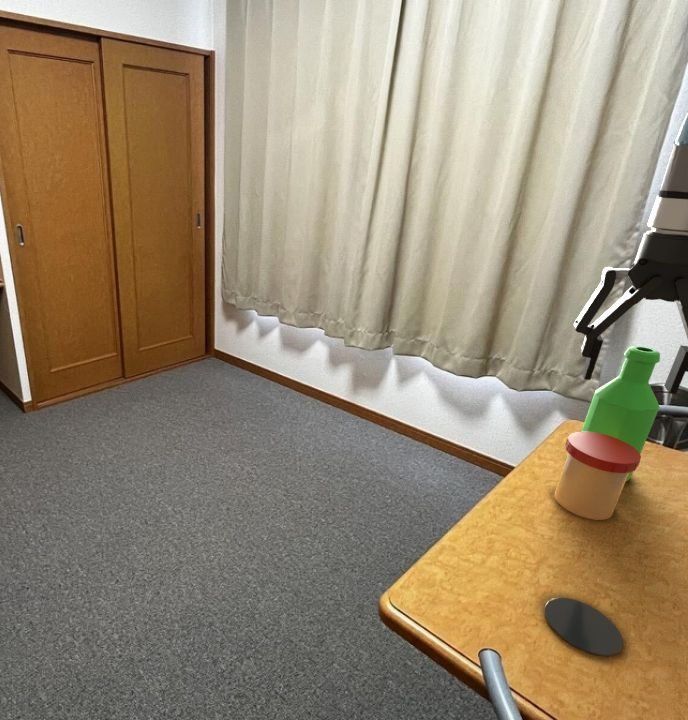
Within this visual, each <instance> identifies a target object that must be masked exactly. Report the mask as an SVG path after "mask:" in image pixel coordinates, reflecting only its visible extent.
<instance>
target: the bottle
mask: <svg viewBox="0 0 688 720" xmlns="http://www.w3.org/2000/svg"><path fill="white" fill-rule="evenodd" d="M623 356H624V357H625V359H624V361H623V364H622V366H621V370H620V373H619V375H618V376H617V377H615V378H613V379H612V380H610V381H609V382H607V383H605V384H603V385H602V386H600V387H598V388H597V389H596V390H595V392H594V393H593V397H592V399H591V401H590V405H589V408H588V411H587V413H586V417H585V419H584V422H583V425H582V427H581V431H580V432H582V431H586V432H595V433H601V434H605V435H608V436H612V437H614V438H617V439H619V440H622V441H624V442H626V443H628V444H629V445H631V446H633V447H634V448H635V449H636V450H637V451H638V452H639V453H640V455H641V453H642V451H643V449H644V446H645V444H646V441H647V439H648V437H649V434H650V432H651V429H652V427H653V424H654V422H655V419H656V417H657V415H658V412H659V409H660V404H659V402H658V400H657V398H656V396H655V393H654V391H653V389H652V387H651V385H650V383H649V382H650V379H651V377H652V374H653V372H654V369H655V367H656V364H658V363H660V362H661V353H660V352H659V351H658V350H655V349H653V348H651V347H647V346H640V345H635V346H628V348H627V349H626V351H624V353H623ZM633 473H634V471H633V472H629V474H628V477H627V479H626V482H627V481H629V480H630V479H631V478H632V475H633Z"/></svg>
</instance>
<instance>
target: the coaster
mask: <svg viewBox="0 0 688 720" xmlns="http://www.w3.org/2000/svg"><path fill="white" fill-rule="evenodd" d="M543 613H544V617H545V621H546V622H547V624H548V626H549V628H551V629H552V631H553V632H554V633H555V634H556V635H557V636H558V637H559V638H561V640H563V641H564V642H566V643H567V644H569V645H570V646H571V647H573V648H575V649H578V650H579V651H581V652H583V653H586V654H589V655H592V656H597V657H613V656H616V655H618V654H619V653H620V652H621V651H622V649H623V646H624V641H623V636H622V634H621V632H620V630H619V629H618V627H617V626H616V624H614V623H613V621H612V620H611V619H610V618H609V617H608V616H606V615H605V614H604V613H603V612H601V611H600V610H598V609H597V608H595V607H593V606H592V605H590V604H588V603H586V602H583V601H580V600H578V599H574V598H569V597H555V598H551V599H550V600H548V601H547V602H546V604H545V606H544V609H543Z"/></svg>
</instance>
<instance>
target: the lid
mask: <svg viewBox="0 0 688 720" xmlns="http://www.w3.org/2000/svg"><path fill="white" fill-rule="evenodd" d="M581 431H582V430H581ZM581 431H575V432H572V433H571V434H569V435H568V438H567V439H566V441H565V451H566V452H567V454H568V453H569V454H570V455H571V456H572V457H573V458H575V459H576V460H578V461H580V462H581V463H583V464H586V465H588V466H590V467H593V468H596V469H599V470H603V471H607V472H613V473H629V472H633V473H634V472H635V471H636V470H637V468H638V467H639V466H640V462H641V458H642V456H641V454H640V453H639V452H638V451H637V450H636V449H635V448H634V447H633V446H631V445H629V444H628V443H626V442H624V441H622V440H619V439H617V438H614V437H612V436H608V435H605V434H601V433H595V432H586V431H582V432H581Z"/></svg>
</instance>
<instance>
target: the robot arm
mask: <svg viewBox="0 0 688 720" xmlns="http://www.w3.org/2000/svg"><path fill="white" fill-rule="evenodd" d="M672 146H673V147H672V150H671V153H670V156H669V159H668V162H667V166H666V169H665V172H664V175H663V179H662V182H661V186H660V188H659V191H658V194H657V196H656V199H655V202H654V205H653V207H652V211H651V213H650V216H649V219H648V222H647V226H648V227H649V228H651V229H650V230H647V231H646V232H644V233H643V236H642V239H641V242H640V244H639V247H638V251H637V254H636V257H635V260H634V261H633V262H632V263H631V265H630V266H628V268H626V267H625V268H613V266H606V267H604V268H603V269H602V271H601V278H600V283H599V284H598V285H597V287H596V288H595V290H594V291H593V293H592V294H591V296H590V298H589V299H588V301H587V302H586V304H585V305H584V307H583V308H582V310H581V311H580V313H579V314H578V316H577V318H576V319H575V321H574V323H573V328H574V331H575V332H577V333H579V334H582V335H584V339H583V342H582V345H581V348H580V354H581V357H583V358H586V359H585V362H584V364H583V365H584V366H583V369H582V371H581V374H582V377H583V380H587V381H591V379H592V376H593V373H594V370H595V367H596V364H597V361H598V358H599V355H600V352H601V349H602V347H603V343H604V339H603V337H602V334H603V333H604V332H605V331H606V330H608V329H609V328H610V327H611V326H612V325H613V324H614V323H616V321H618V320H619V319H620V318H621V317H622V316H623V315H624V314H626V313H627V312H628V311H630V309H632V308H633V307H634V306H635V305H637V304H639V303H640V302H641V301H642V300H649V301H656V300H657V301H658V300H661V301H665V302H667V303H675V304H676V307H677V309H678V313H679V316H680V320H681V323H682V326H683V330H684V332H685V335H686V339H687V340H688V112H687V113H686V115H685V117H684V119H683V121H682V124H681V126H680V128H679V131H678V133H677V136H676V138H675V140H674V141H673V144H672ZM624 278H628V280H629V281H630V284H631V286H630V287H629V288H628V289H627V290H626V291H625V292H624V293H623V295H622V296H621V297H620V298H619V299H617V300H616V301H615V302H614V303H613V304H612V305H611V306H610V307H609V308H608V309H606V310H605V311H604V312H603V313H602V314H601V315H600V316H599V317H598V318H597V319H595V320H594V321H593V322H592V320H593V319H594V318H595V316H596V314H597V313H598V312H599V310H600V309H601V308H602V306H603V304H604V303H605V301H606V300H607V298H608V297H609V295H610V293H611V292H612V291H613V288H614V286H615V285H617V284H620V283H621V281H622V280H623V279H624ZM591 322H592V323H591ZM590 323H591V324H590ZM686 373H688V345H682V344H681V345H679V348H678V351H677V353H676V356H675V358H674V361H673V363H672V365H671V368H670V370H669V373H668V375H667V378H666V380H665V382H664V385H663V386H664V388H665V389H666V391H667V392H668V394H671V395H672V394H673V395H677V393H678V390H679V388H680V386H681V383H682V381H683V379H684V376H685V374H686Z"/></svg>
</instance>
